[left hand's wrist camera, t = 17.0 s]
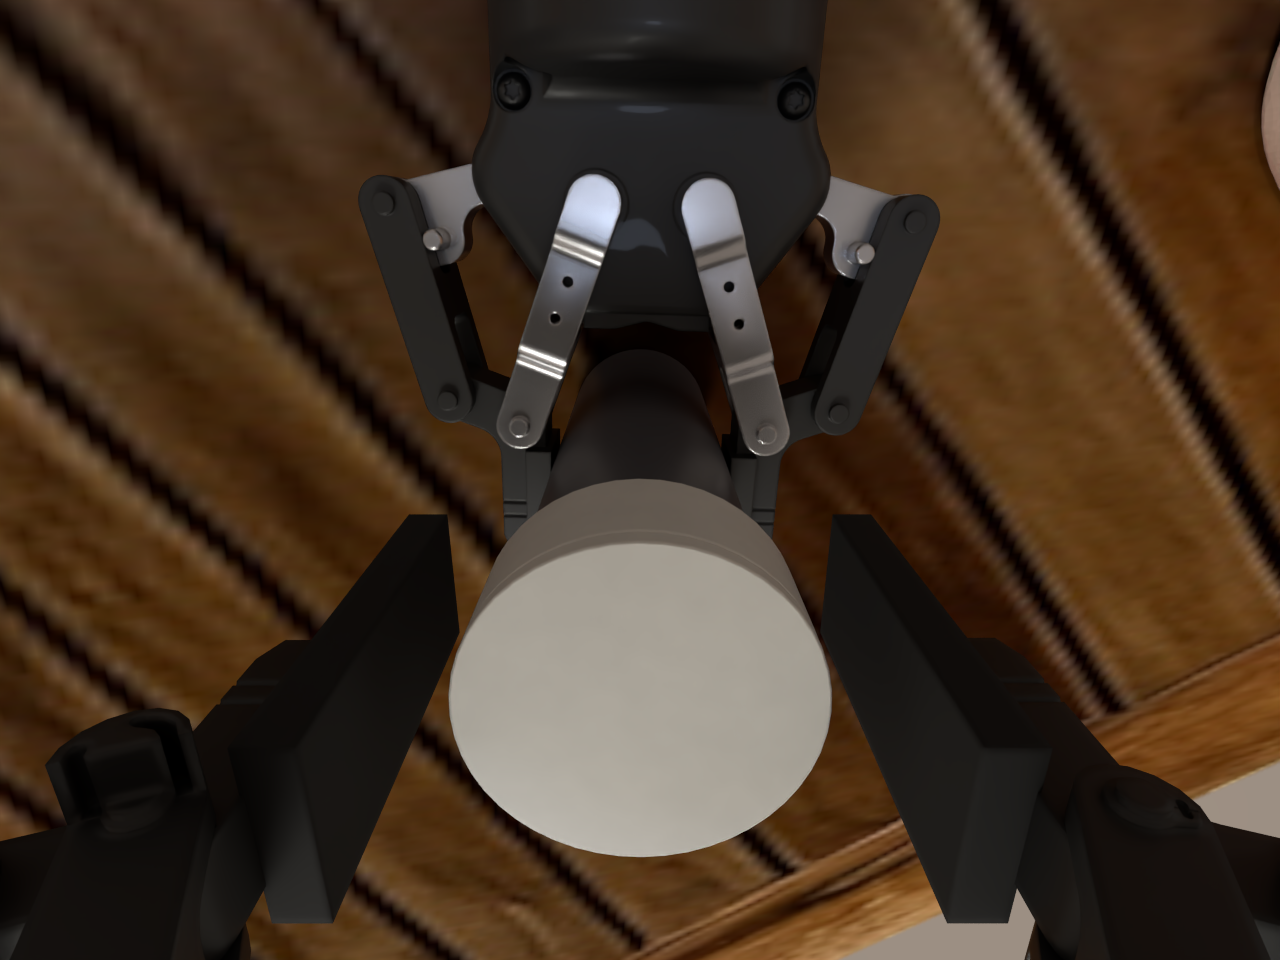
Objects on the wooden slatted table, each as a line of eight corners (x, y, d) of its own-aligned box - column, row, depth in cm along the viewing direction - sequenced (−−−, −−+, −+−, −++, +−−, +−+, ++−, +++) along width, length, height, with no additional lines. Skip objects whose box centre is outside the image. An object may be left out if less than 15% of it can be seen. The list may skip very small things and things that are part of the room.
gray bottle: (549, 405, 26) (425, 662, 11) (648, 321, 25) (661, 479, 10) (632, 496, 27) (623, 840, 12) (730, 420, 26) (851, 693, 11)
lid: (766, 762, 14) (791, 872, 11) (477, 735, 13) (444, 841, 11) (826, 496, 12) (873, 564, 9) (490, 459, 11) (452, 519, 9)
